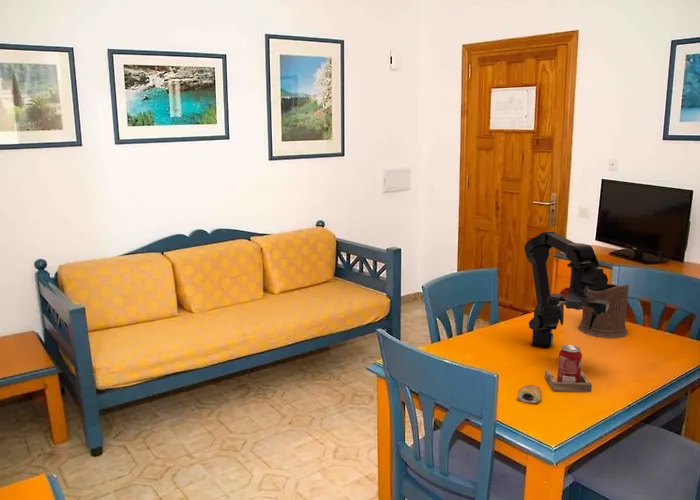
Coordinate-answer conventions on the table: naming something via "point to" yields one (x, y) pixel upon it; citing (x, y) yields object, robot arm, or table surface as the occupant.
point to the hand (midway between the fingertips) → (575, 327)
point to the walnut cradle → (569, 384)
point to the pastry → (530, 394)
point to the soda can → (569, 364)
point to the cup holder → (607, 312)
